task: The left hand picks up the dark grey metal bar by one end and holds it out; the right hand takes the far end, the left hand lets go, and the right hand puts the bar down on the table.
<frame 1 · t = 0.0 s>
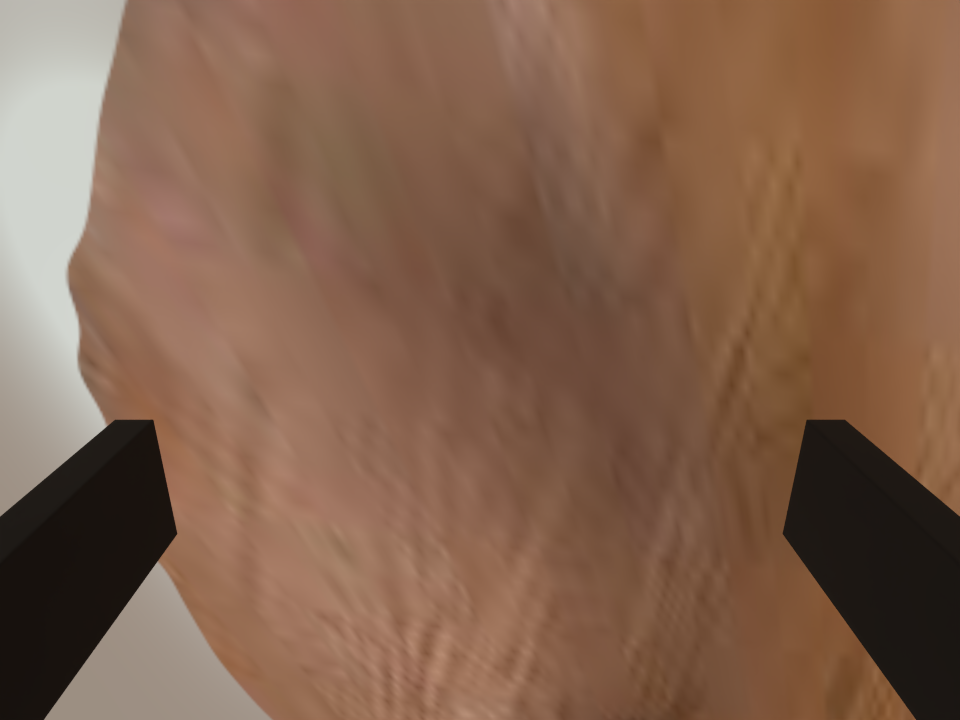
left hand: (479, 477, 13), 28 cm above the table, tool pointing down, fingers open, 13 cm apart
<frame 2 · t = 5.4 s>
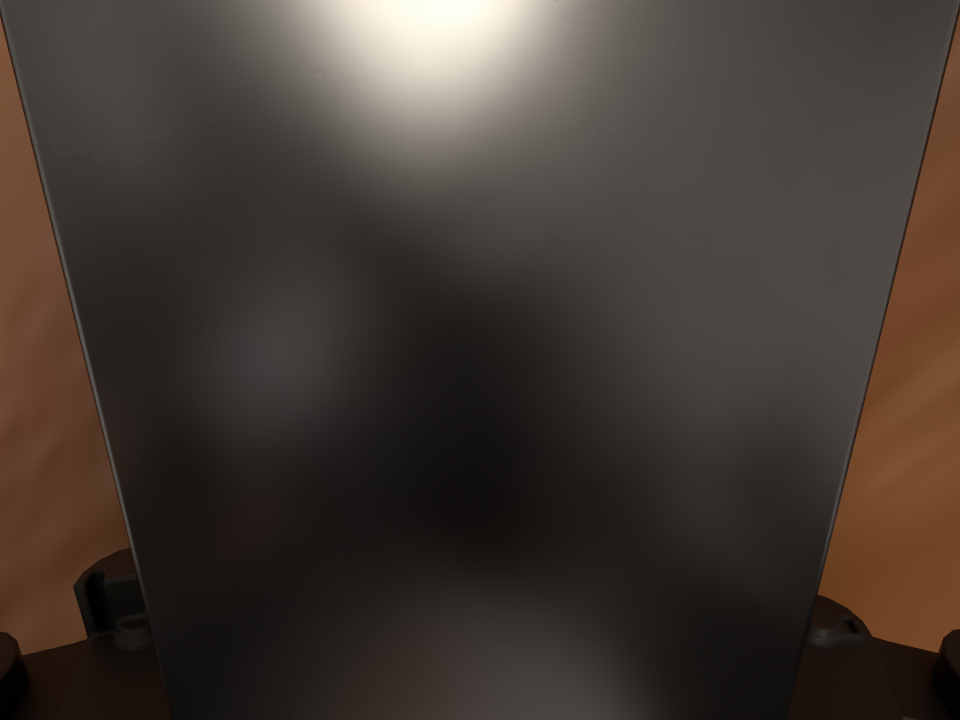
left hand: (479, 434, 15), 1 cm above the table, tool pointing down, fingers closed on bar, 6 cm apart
bar: (479, 19, 12), on the table, touching left hand
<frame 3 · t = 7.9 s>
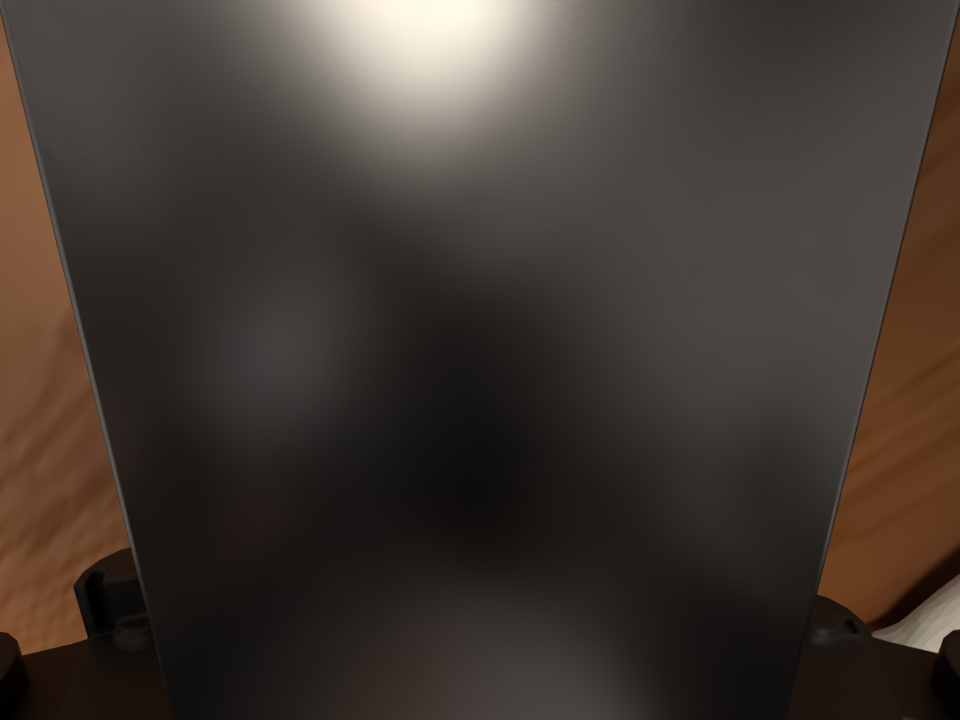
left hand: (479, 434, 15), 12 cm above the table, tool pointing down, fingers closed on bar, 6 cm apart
bar: (479, 20, 12), point 12 cm above the table, touching left hand
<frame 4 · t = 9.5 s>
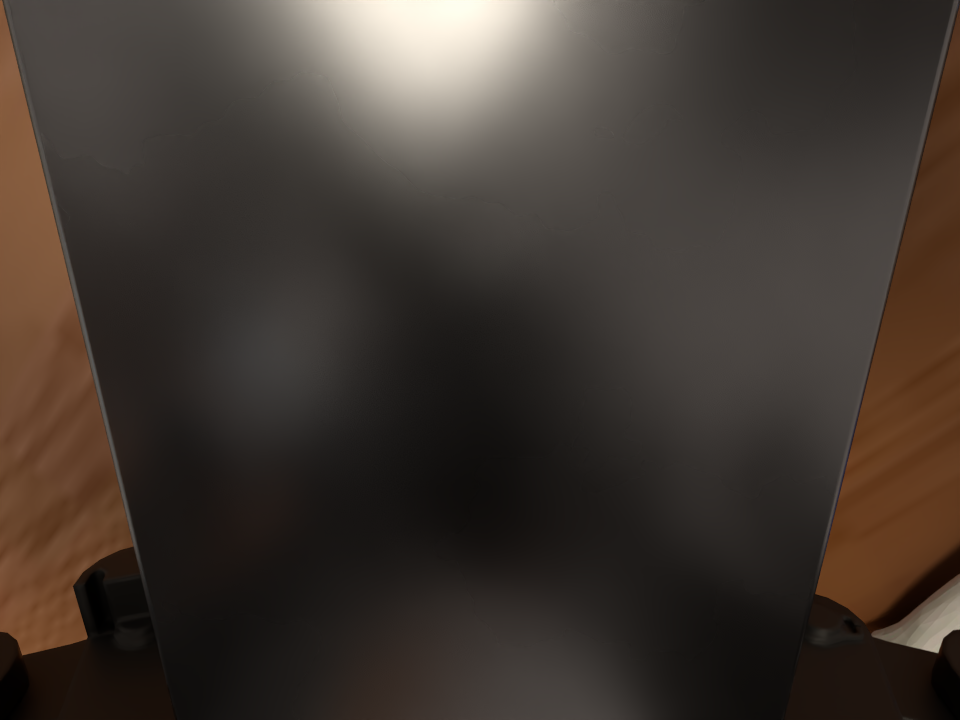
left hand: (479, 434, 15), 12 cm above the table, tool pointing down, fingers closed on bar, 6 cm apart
bar: (480, 20, 12), point 12 cm above the table, touching left hand, right hand
when the left hand's fingers open (12 cm above the table, at t = 10.4 s): bar stays where it is, held by the right hand.
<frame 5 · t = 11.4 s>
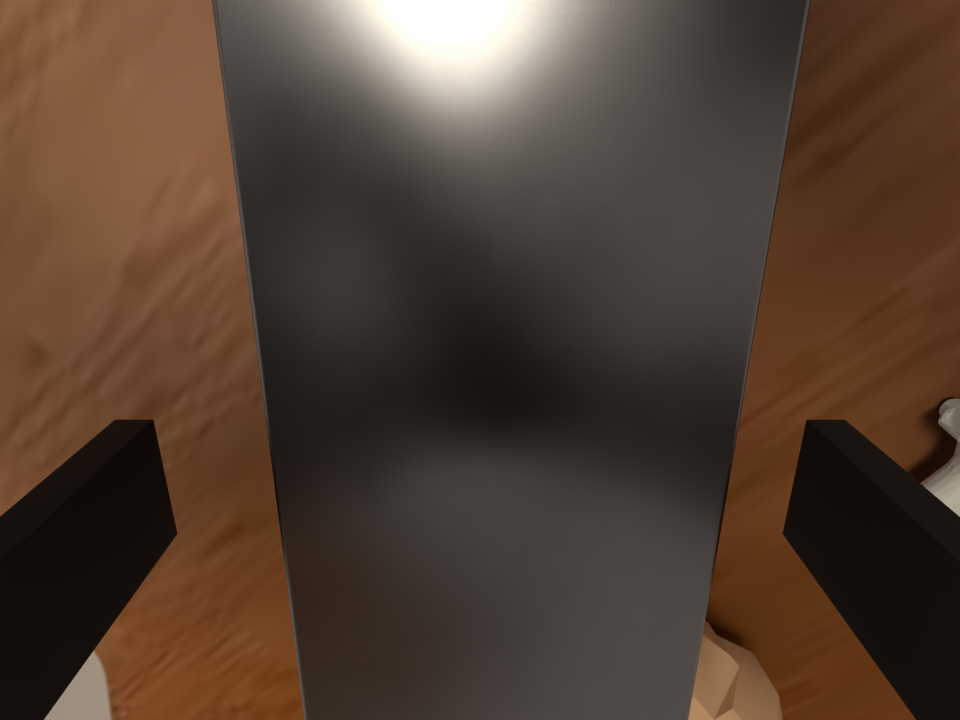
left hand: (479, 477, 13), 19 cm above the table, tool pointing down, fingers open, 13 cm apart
squash: (612, 619, 39), on the table
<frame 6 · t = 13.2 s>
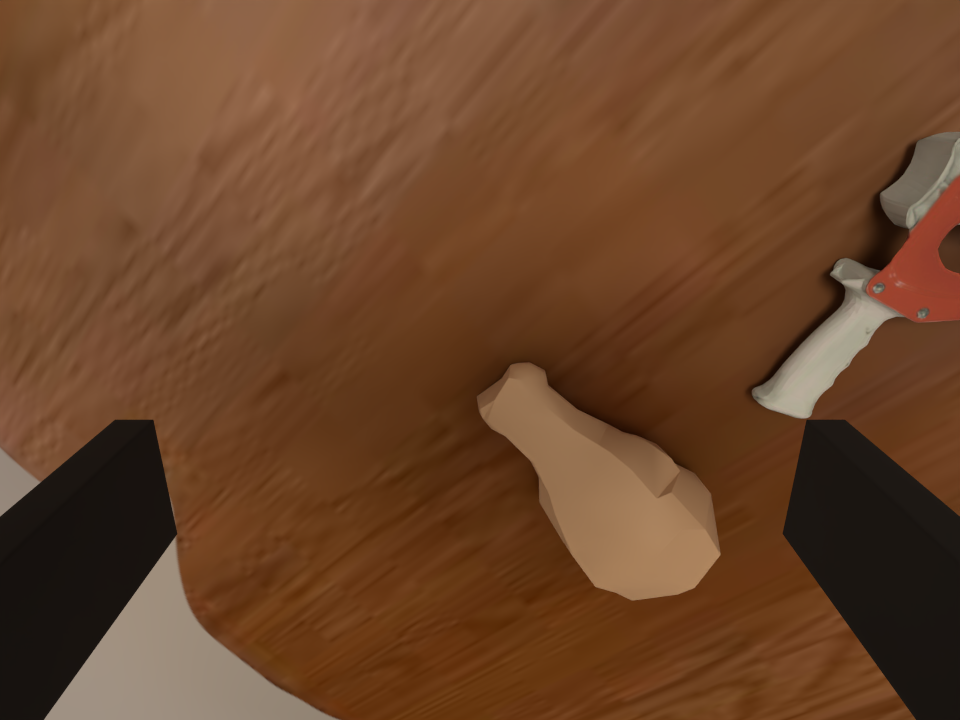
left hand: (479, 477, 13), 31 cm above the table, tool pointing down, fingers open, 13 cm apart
squash: (583, 453, 48), on the table
tape dispenser: (885, 268, 43), on the table
when the right hand's fingers open (6 cm above the table, at t = 17.4 s): bar drops 1 cm, on the table.
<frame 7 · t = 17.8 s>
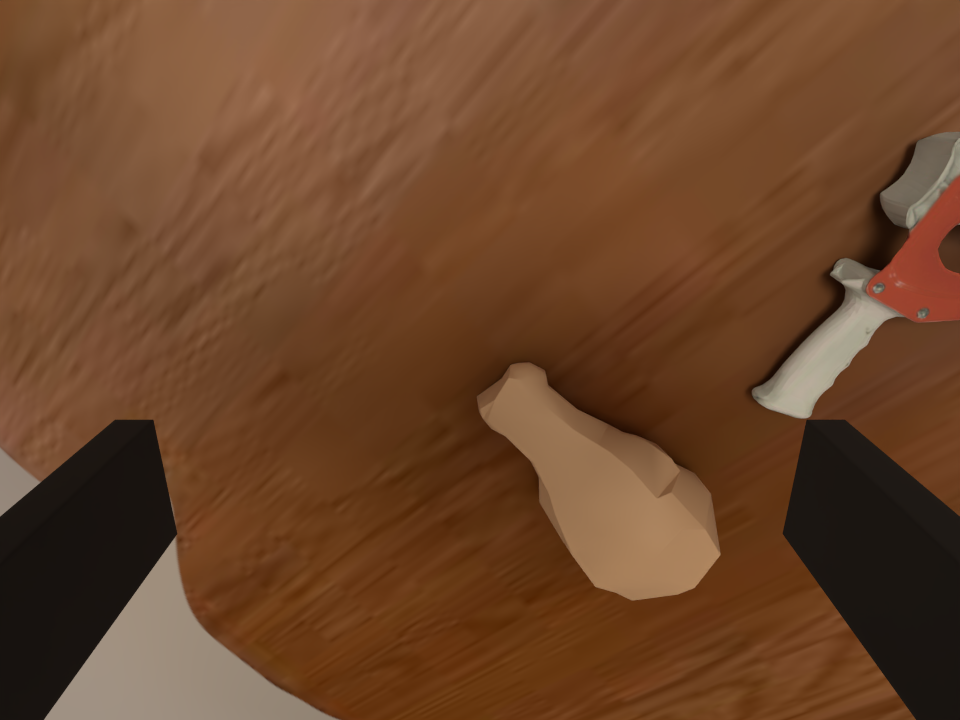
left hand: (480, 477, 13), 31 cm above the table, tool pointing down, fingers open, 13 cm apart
squash: (583, 453, 48), on the table
tape dispenser: (885, 268, 43), on the table
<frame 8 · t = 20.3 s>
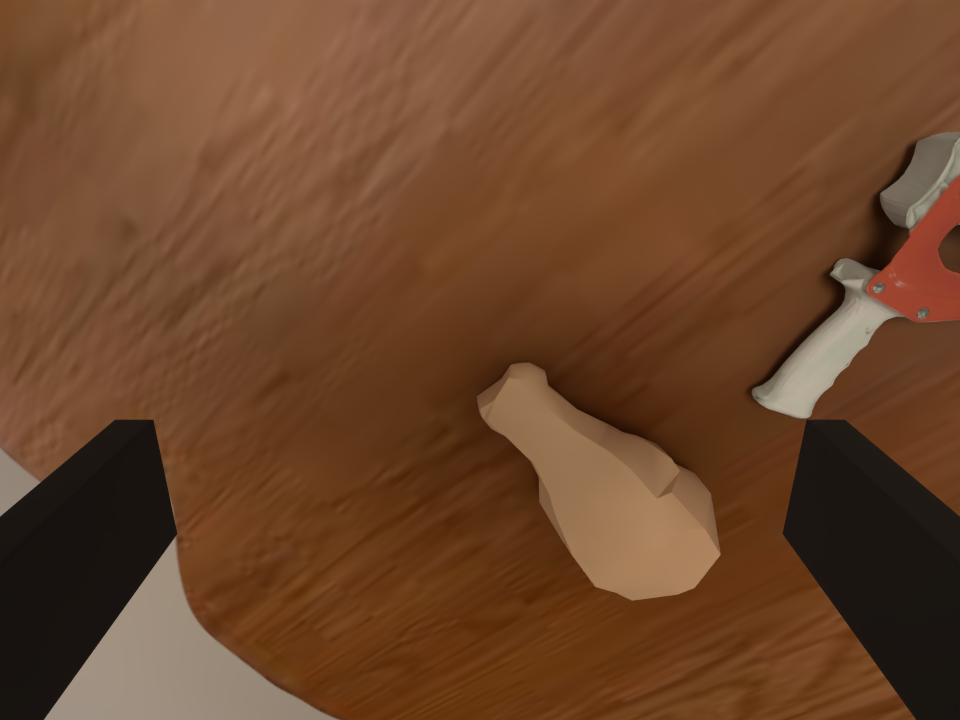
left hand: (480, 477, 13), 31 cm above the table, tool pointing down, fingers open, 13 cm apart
squash: (583, 453, 48), on the table
tape dispenser: (885, 268, 43), on the table
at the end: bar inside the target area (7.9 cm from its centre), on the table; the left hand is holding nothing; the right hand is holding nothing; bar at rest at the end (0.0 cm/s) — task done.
